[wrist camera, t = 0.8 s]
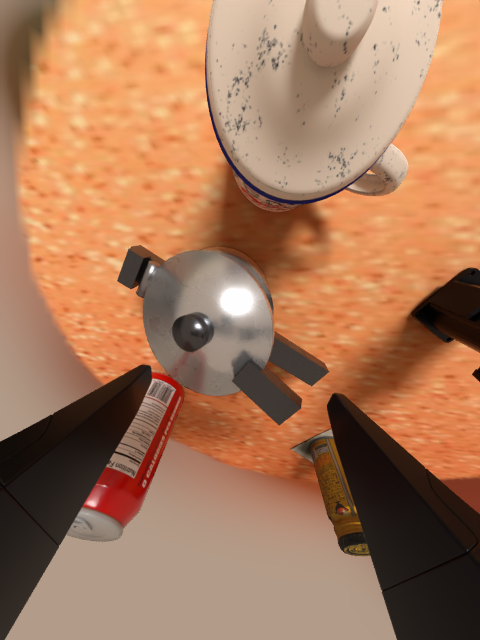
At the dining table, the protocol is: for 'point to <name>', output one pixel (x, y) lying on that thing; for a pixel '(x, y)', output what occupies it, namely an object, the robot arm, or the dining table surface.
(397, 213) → the dining table surface
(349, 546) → the condiment
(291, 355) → the pot
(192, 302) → the lid
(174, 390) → the soda can
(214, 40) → the teacup with lid
